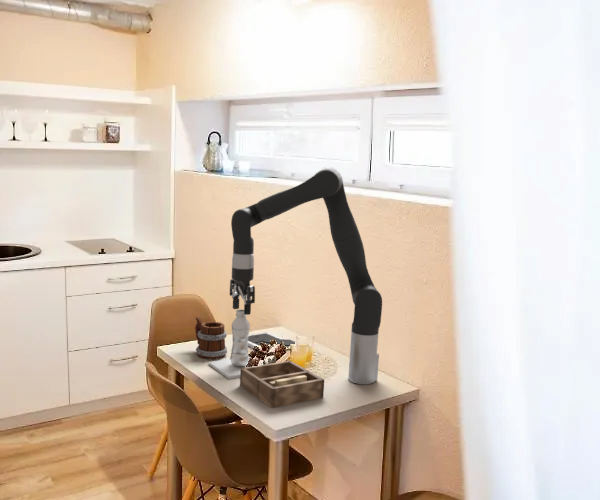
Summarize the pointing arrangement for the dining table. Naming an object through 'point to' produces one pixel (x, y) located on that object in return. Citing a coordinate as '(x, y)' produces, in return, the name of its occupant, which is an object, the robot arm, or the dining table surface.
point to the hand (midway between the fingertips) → (241, 311)
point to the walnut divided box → (259, 386)
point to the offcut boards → (288, 381)
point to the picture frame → (266, 339)
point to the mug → (210, 339)
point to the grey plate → (226, 368)
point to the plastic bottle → (240, 340)
